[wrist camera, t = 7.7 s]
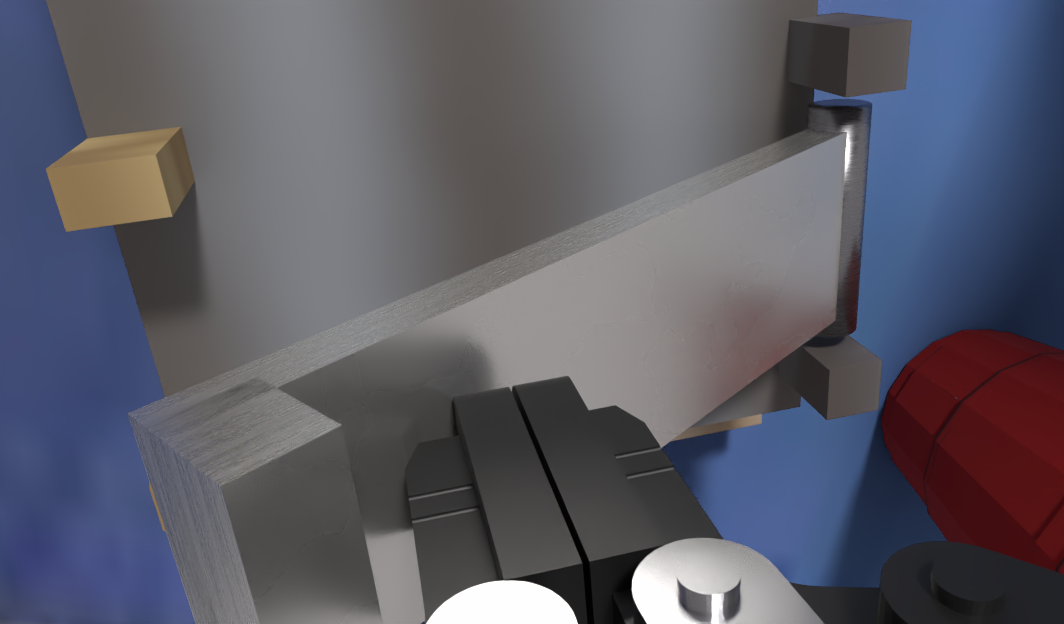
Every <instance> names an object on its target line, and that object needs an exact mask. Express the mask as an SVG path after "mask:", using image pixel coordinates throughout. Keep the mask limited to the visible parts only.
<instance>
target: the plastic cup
mask: <svg viewBox="0 0 1064 624" xmlns="http://www.w3.org/2000/svg"><path fill="white" fill-rule="evenodd" d="M881 422H882V429H883V435H884V441H885V446H886V447H887V449H888V450H889V451H890V454H891V459H892V460H893V462H894V463H895V464H896V466H897V467H898V468H899V470H900V471H901V472H902V474H903V475H904V476H905V478H906V479H907V480H908V482H909V483H910V484H911V486H912V487H913V488H914V490H915V491H916V492H917V494H918V495H919V496H920V498H921V499H922V500H923V502H924V503H925V504H926V506H927V511H928V514H929V515H930V516H931V518H932V519H933V521H934V522H935V524H936V525H937V526H938V528H939V529H940V531H941V532H942V533H943V535H944V536H945V538H946V539H947V540H948V542H959V543H964V544H970V545H975V546H978V547H982V548H985V549H989V550H992V551H995V552H998V553H1001V554H1004V555H1007V556H1010V557H1013V558H1016V559H1019V560H1022V561H1025V562H1028V563H1031V564H1034V565H1037V566H1040V567H1043V568H1046V569H1049V570H1052V571H1055V572H1058V573H1061V574H1064V351H1063V350H1060V349H1057V348H1054V347H1051V346H1048V345H1045V344H1043V343H1040V342H1037V341H1034V340H1031V339H1028V338H1025V337H1022V336H1019V335H1016V334H1013V333H1010V332H997V331H994V330H962V331H959V332H957V333H954V334H952V335H949V336H947V337H944V338H942V339H939V340H937V341H935V342H933V343H931V344H930V345H929V346H928V347H927V348H925V349H924V350H923V351H922V352H921V353H919V354H918V355H917V356H916V357H915V358H913V359H912V360H911V361H910V362H908V363H907V364H906V366H905V367H904V369H903V370H902V372H901V373H900V375H899V377H898V378H897V380H896V381H895V383H894V384H893V386H892V387H891V389H890V390H889V392H888V396H887V400H886V404H885V407H884V411H883V415H882V419H881Z"/></svg>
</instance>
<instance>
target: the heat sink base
mask: <svg viewBox="0 0 1064 624" xmlns="http://www.w3.org/2000/svg"><path fill="white" fill-rule="evenodd" d="M46 2H47V6H48V9H49V12H50V16H51V19H52V22H53V26H54V29H55V32H56V36H57V39H58V42H59V46H60V49H61V52H62V55H63V59H64V62H65V65H66V69H67V72H68V75H69V79H70V82H71V85H72V89H73V92H74V95H75V99H76V102H77V105H78V109H79V112H80V115H81V119H82V122H83V125H84V129H85V132H86V135H87V139H86V140H85V141H83V142H82V143H81V144H79V145H78V146H76V147H75V148H74V149H72V150H71V151H70V152H68V153H67V154H66V155H64V156H63V157H61V158H60V159H59V160H57V161H56V162H55V163H53V164H52V165H50V166H49V167H48V168H46V171H47V175H48V178H49V181H50V184H51V187H52V190H53V193H54V196H55V199H56V202H57V205H58V208H59V211H60V215H61V218H62V221H63V224H64V227H65V230H66V232H67V231H74V230H81V229H88V228H95V227H102V226H109V225H114V228H115V232H116V235H117V238H118V242H119V245H120V248H121V252H122V255H123V258H124V262H125V265H126V268H127V272H128V275H129V278H130V282H131V285H132V288H133V292H134V295H135V298H136V302H137V305H138V308H139V312H140V315H141V318H142V322H143V325H144V328H145V332H146V335H147V338H148V341H149V345H150V348H151V351H152V355H153V358H154V361H155V365H156V368H157V371H158V375H159V378H160V381H161V385H162V388H163V391H164V395H165V397H168V396H170V395H172V394H175V393H177V392H180V391H182V390H184V389H187V388H189V387H192V386H194V385H196V384H199V383H201V382H203V381H206V380H208V379H211V378H213V377H215V376H218V375H220V374H223V373H225V372H227V371H230V370H232V369H235V368H237V367H239V366H242V365H244V364H246V363H249V362H251V361H254V360H256V359H258V358H261V357H263V356H266V355H268V354H270V353H273V352H275V351H278V350H280V349H282V348H285V347H287V346H290V345H292V344H294V343H297V342H299V341H301V340H304V339H306V338H309V337H311V336H313V335H316V334H318V333H321V332H323V331H325V330H328V329H330V328H333V327H335V326H337V325H340V324H342V323H344V322H347V321H349V320H352V319H354V318H356V317H359V316H361V315H364V314H366V313H368V312H371V311H373V310H376V309H378V308H380V307H383V306H385V305H388V304H390V303H392V302H395V301H397V300H399V299H402V298H404V297H407V296H409V295H411V294H414V293H416V292H419V291H421V290H423V289H426V288H428V287H431V286H433V285H435V284H438V283H440V282H443V281H445V280H447V279H450V278H452V277H454V276H457V275H459V274H462V273H464V272H466V271H469V270H471V269H474V268H476V267H478V266H481V265H483V264H486V263H488V262H490V261H493V260H495V259H497V258H500V257H502V256H505V255H507V254H509V253H512V252H514V251H517V250H519V249H521V248H524V247H526V246H529V245H531V244H533V243H536V242H538V241H541V240H543V239H545V238H548V237H550V236H552V235H555V234H557V233H560V232H562V231H564V230H567V229H569V228H572V227H574V226H576V225H579V224H581V223H584V222H586V221H588V220H591V219H593V218H595V217H598V216H600V215H603V214H605V213H607V212H610V211H612V210H615V209H617V208H619V207H622V206H624V205H627V204H629V203H631V202H634V201H636V200H639V199H641V198H643V197H646V196H648V195H650V194H653V193H655V192H658V191H660V190H662V189H665V188H667V187H670V186H672V185H674V184H677V183H679V182H682V181H684V180H686V179H689V178H691V177H694V176H696V175H698V174H701V173H703V172H705V171H708V170H710V169H713V168H715V167H717V166H720V165H722V164H725V163H727V162H729V161H732V160H734V159H737V158H739V157H741V156H744V155H746V154H748V153H751V152H753V151H756V150H758V149H760V148H763V147H765V146H768V145H770V144H772V143H775V142H777V141H780V140H782V139H784V138H787V137H789V136H792V135H794V134H796V133H799V132H801V131H803V130H806V129H807V106H808V105H809V104H810V103H813V102H814V89H817V90H821V91H825V92H828V93H832V94H836V95H839V96H843V97H852V96H859V95H867V94H874V93H881V92H889V91H896V90H903V89H906V80H907V68H908V56H909V45H910V33H911V22H912V21H911V20H902V19H893V18H884V17H875V16H866V15H857V14H848V13H832V14H823V15H817V11H818V0H46ZM881 370H882V360H881V359H880V358H878V357H877V356H876V355H874V354H873V353H872V352H870V351H869V350H867V349H866V348H865V347H863V346H862V345H861V344H859V343H858V342H857V341H855V340H854V339H853V338H851V337H850V336H849V335H846V336H842V337H833V338H829V337H819V336H814V337H812V338H811V339H810V340H808V341H807V342H805V343H804V344H803V345H801V346H800V347H799V348H797V349H796V350H795V351H793V352H792V353H790V354H789V355H788V356H786V357H785V358H784V359H782V360H781V361H779V362H778V363H777V364H775V365H774V366H773V367H771V368H770V369H769V370H767V371H766V372H764V373H763V374H762V375H760V376H759V377H758V378H756V379H755V380H753V381H752V382H751V383H749V384H748V385H747V386H745V387H744V388H743V389H741V390H740V391H738V392H737V393H736V394H734V395H733V396H732V397H730V398H729V399H727V400H726V401H725V402H723V403H722V404H721V405H719V406H718V407H717V408H715V409H714V410H712V411H711V412H710V413H708V414H707V415H706V416H704V417H703V418H701V419H700V420H699V421H697V422H696V423H695V424H693V425H692V426H691V427H689V428H688V429H686V430H685V431H684V432H682V433H681V434H680V435H678V436H677V437H675V438H674V439H673V440H671V441H675V440H681V439H686V438H691V437H696V436H701V435H706V434H711V433H716V432H721V431H726V430H731V429H736V428H741V427H746V426H751V425H756V424H761V423H762V414H764V413H770V412H775V411H780V410H785V409H790V408H795V407H800V401H801V396H802V397H803V398H804V399H805V400H806V401H807V402H808V403H809V404H810V405H811V406H812V407H813V408H815V409H816V410H817V411H818V412H819V413H820V414H821V415H822V416H823V417H824V418H825V419H826V420H830V419H835V418H840V417H845V416H850V415H855V414H860V413H865V412H870V411H875V410H878V405H879V393H880V382H881ZM149 488H150V491H151V494H152V497H153V500H154V504H155V507H156V510H157V513H158V516H159V519H160V522H161V525H162V528H163V531H166V530H165V527H164V524H163V521H162V518H161V515H160V512H159V508H158V505H157V502H156V499H155V496H154V493H153V490H152V487H151V484H149Z"/></svg>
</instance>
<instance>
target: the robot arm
mask: <svg viewBox="0 0 1064 624" xmlns="http://www.w3.org/2000/svg"><path fill="white" fill-rule="evenodd" d="M453 406H454V413H455V420H456V426H457V433H458V436H453V437H447V438H442V439H437V440H432V441H426V442H421V443H418V445H417V447H416V449H415V450H414V452H413V454H412V456H411V458H410V460H409V462H408V464H407V466H406V468H405V475H406V482H407V489H408V497H409V504H410V511H411V518H412V524H413V532H414V539H415V546H416V554H417V561H418V568H419V575H420V582H421V589H422V596H423V603H424V610H425V624H1064V574H1061V573H1058V572H1055V571H1052V570H1049V569H1046V568H1043V567H1040V566H1037V565H1034V564H1031V563H1028V562H1025V561H1022V560H1019V559H1016V558H1013V557H1010V556H1007V555H1004V554H1001V553H998V552H995V551H992V550H989V549H985V548H982V547H978V546H975V545H970V544H964V543H959V542H947V541H934V542H925V543H918V544H915V545H911V546H908V547H906V548H903V549H901V550H899V551H897V552H896V553H895V554H893V555H892V556H891V557H890V558H889V559H888V560H887V561H886V563H885V564H884V567H883V569H882V571H881V579H880V588H862V587H821V586H807V585H801V584H795V583H790V582H788V581H787V580H786V578H785V577H784V576H783V575H782V574H781V573H780V571H779V570H778V569H777V568H776V567H775V566H774V565H773V564H772V563H771V562H770V561H769V560H768V559H767V558H765V557H764V556H762V555H761V554H760V553H758V552H756V551H754V550H752V549H750V548H749V547H746V546H744V545H741V544H738V543H735V542H731V541H727V540H724V539H723V538H722V536H721V535H720V533H719V532H718V530H717V529H716V527H715V526H714V525H713V523H712V522H711V520H710V519H709V517H708V516H707V514H706V513H705V511H704V510H703V508H702V507H701V505H700V504H699V502H698V501H697V499H696V498H695V496H694V495H693V493H692V492H691V490H690V489H689V487H688V486H687V485H686V483H685V482H684V480H683V479H682V477H681V476H680V474H679V473H678V471H677V470H674V466H673V464H672V462H671V461H670V459H669V458H668V456H667V455H666V453H665V452H664V450H662V451H661V448H660V444H659V443H658V442H657V440H656V439H655V437H654V436H653V434H652V433H651V431H650V430H649V428H648V427H647V425H646V424H645V422H643V421H641V420H640V419H638V418H636V417H635V416H633V415H631V414H630V413H628V412H626V411H624V410H623V409H621V408H619V407H618V406H616V405H614V406H609V407H604V408H598V409H593V410H588V408H587V406H586V405H585V403H584V401H583V399H582V398H581V396H580V394H579V392H578V391H577V389H576V387H575V385H574V384H573V382H572V380H571V379H570V377H569V376H563V377H558V378H552V379H547V380H541V381H536V382H530V383H525V384H519V385H514V386H512V392H511V390H510V388H509V387H504V388H499V389H493V390H488V391H482V392H477V393H471V394H466V395H460V396H455V397H453Z"/></svg>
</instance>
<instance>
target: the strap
mask: <svg viewBox="0 0 1064 624" xmlns="http://www.w3.org/2000/svg"><path fill="white" fill-rule="evenodd" d="M871 114H872V103H871V102H868V101H864V100H856V99H833V100H823V101H817V102H813V103H810V104H809V105H808V106H807V129H806V130H803V131H801V132H799V133H796V134H794V135H792V136H789V137H787V138H784V139H782V140H780V141H777V142H775V143H772V144H770V145H768V146H765V147H763V148H760V149H758V150H756V151H753V152H751V153H748V154H746V155H744V156H741V157H739V158H737V159H734V160H732V161H729V162H727V163H725V164H722V165H720V166H717V167H715V168H713V169H710V170H708V171H705V172H703V173H701V174H698V175H696V176H694V177H691V178H689V179H686V180H684V181H682V182H679V183H677V184H674V185H672V186H670V187H667V188H665V189H662V190H660V191H658V192H655V193H653V194H650V195H648V196H646V197H643V198H641V199H639V200H636V201H634V202H631V203H629V204H627V205H624V206H622V207H619V208H617V209H615V210H612V211H610V212H607V213H605V214H603V215H600V216H598V217H595V218H593V219H591V220H588V221H586V222H584V223H581V224H579V225H576V226H574V227H572V228H569V229H567V230H564V231H562V232H560V233H557V234H555V235H552V236H550V237H548V238H545V239H543V240H541V241H538V242H536V243H533V244H531V245H529V246H526V247H524V248H521V249H519V250H517V251H514V252H512V253H509V254H507V255H505V256H502V257H500V258H497V259H495V260H493V261H490V262H488V263H486V264H483V265H481V266H478V267H476V268H474V269H471V270H469V271H466V272H464V273H462V274H459V275H457V276H454V277H452V278H450V279H447V280H445V281H443V282H440V283H438V284H435V285H433V286H431V287H428V288H426V289H423V290H421V291H419V292H416V293H414V294H411V295H409V296H407V297H404V298H402V299H399V300H397V301H395V302H392V303H390V304H388V305H385V306H383V307H380V308H378V309H376V310H373V311H371V312H368V313H366V314H364V315H361V316H359V317H356V318H354V319H352V320H349V321H347V322H344V323H342V324H340V325H337V326H335V327H333V328H330V329H328V330H325V331H323V332H321V333H318V334H316V335H313V336H311V337H309V338H306V339H304V340H301V341H299V342H297V343H294V344H292V345H290V346H287V347H285V348H282V349H280V350H278V351H275V352H273V353H270V354H268V355H266V356H263V357H261V358H258V359H256V360H254V361H251V362H249V363H246V364H244V365H242V366H239V367H237V368H235V369H232V370H230V371H227V372H225V373H223V374H220V375H218V376H215V377H213V378H211V379H208V380H206V381H203V382H201V383H199V384H196V385H194V386H192V387H189V388H187V389H184V390H182V391H180V392H177V393H175V394H172V395H170V396H168V397H165V398H163V399H160V400H158V401H156V402H153V403H151V404H148V405H146V406H144V407H141V408H139V409H137V410H134V411H132V412H129V413H128V416H129V419H130V422H131V425H132V428H133V431H134V434H135V437H136V440H137V444H138V447H139V450H140V453H141V456H142V459H143V462H144V465H145V468H146V471H147V474H148V478H149V481H150V484H151V487H152V490H153V493H154V496H155V499H156V502H157V505H158V508H159V512H160V515H161V518H162V521H163V524H164V527H165V530H166V533H167V536H168V539H169V542H170V545H171V549H172V552H173V555H174V558H175V561H176V564H177V567H178V570H179V573H180V576H181V579H182V583H183V586H184V589H185V592H186V595H187V598H188V601H189V604H190V607H191V610H192V613H193V616H194V620H195V623H196V624H421V623H422V622H424V621H425V610H424V603H423V596H422V589H421V582H420V575H419V568H418V561H417V554H416V546H415V539H414V532H413V524H412V518H411V511H410V504H409V497H408V489H407V482H406V475H405V468H406V466H407V464H408V462H409V460H410V458H411V456H412V454H413V452H414V450H415V449H416V447H417V445H418V443H421V442H426V441H432V440H437V439H442V438H447V437H453V436H458V433H457V426H456V420H455V413H454V406H453V397H455V396H460V395H466V394H471V393H477V392H482V391H488V390H493V389H499V388H504V387H509V388H510V390H511V392H512V386H514V385H519V384H525V383H530V382H536V381H541V380H547V379H552V378H558V377H563V376H569V377H570V379H571V380H572V382H573V384H574V385H575V387H576V389H577V391H578V392H579V394H580V396H581V398H582V399H583V401H584V403H585V405H586V406H587V408H588V410H593V409H598V408H604V407H609V406H614V405H616V406H618V407H619V408H621V409H623V410H624V411H626V412H628V413H630V414H631V415H633V416H635V417H636V418H638V419H640V420H641V421H643V422H645V424H646V425H647V427H648V428H649V430H650V431H651V433H652V434H653V436H654V437H655V439H656V440H657V442H658V443H659V444H660V448H662V447H663V446H665V445H666V444H667V443H669V442H670V441H671V440H673V439H674V438H675V437H677V436H678V435H680V434H681V433H682V432H684V431H685V430H686V429H688V428H689V427H691V426H692V425H693V424H695V423H696V422H697V421H699V420H700V419H701V418H703V417H704V416H706V415H707V414H708V413H710V412H711V411H712V410H714V409H715V408H717V407H718V406H719V405H721V404H722V403H723V402H725V401H726V400H727V399H729V398H730V397H732V396H733V395H734V394H736V393H737V392H738V391H740V390H741V389H743V388H744V387H745V386H747V385H748V384H749V383H751V382H752V381H753V380H755V379H756V378H758V377H759V376H760V375H762V374H763V373H764V372H766V371H767V370H769V369H770V368H771V367H773V366H774V365H775V364H777V363H778V362H779V361H781V360H782V359H784V358H785V357H786V356H788V355H789V354H790V353H792V352H793V351H795V350H796V349H797V348H799V347H800V346H801V345H803V344H804V343H805V342H807V341H808V340H810V339H811V338H812V337H814V336H819V337H829V338H833V337H842V336H846V335H849V334H851V333H853V332H854V331H855V330H856V325H857V311H858V297H859V283H860V269H861V255H862V241H863V227H864V213H865V199H866V185H867V171H868V157H869V142H870V128H871Z"/></svg>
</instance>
